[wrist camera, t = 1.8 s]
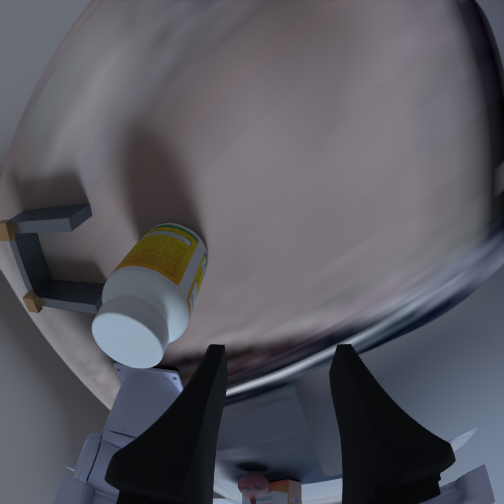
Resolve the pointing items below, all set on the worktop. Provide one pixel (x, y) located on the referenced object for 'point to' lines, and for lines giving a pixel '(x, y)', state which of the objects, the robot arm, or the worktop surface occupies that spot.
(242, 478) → the vegetable
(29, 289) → the docking mount
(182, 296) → the supplement bottle
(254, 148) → the worktop surface
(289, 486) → the cracker box
